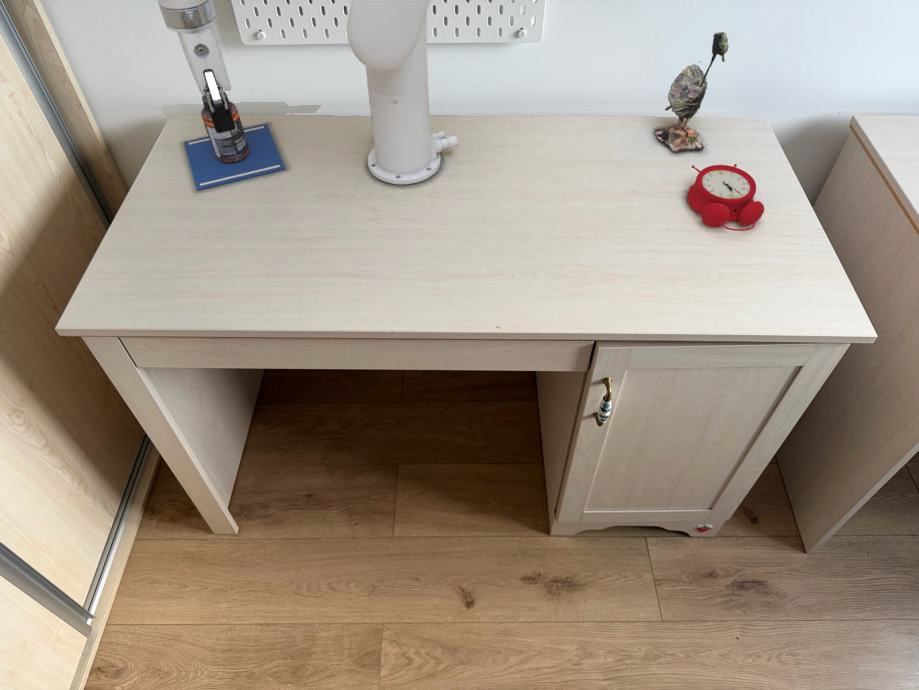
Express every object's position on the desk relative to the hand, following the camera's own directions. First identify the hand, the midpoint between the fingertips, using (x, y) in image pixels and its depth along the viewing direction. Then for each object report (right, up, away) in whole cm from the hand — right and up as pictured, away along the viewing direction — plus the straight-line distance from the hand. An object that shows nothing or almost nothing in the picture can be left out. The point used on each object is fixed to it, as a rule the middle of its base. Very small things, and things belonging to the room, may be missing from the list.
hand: (222, 119), depth 113 cm
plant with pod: (+79, -1, +8) cm, 80 cm away
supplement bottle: (0, -5, +6) cm, 7 cm away
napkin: (0, -5, +6) cm, 7 cm away
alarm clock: (+82, -16, -5) cm, 84 cm away
